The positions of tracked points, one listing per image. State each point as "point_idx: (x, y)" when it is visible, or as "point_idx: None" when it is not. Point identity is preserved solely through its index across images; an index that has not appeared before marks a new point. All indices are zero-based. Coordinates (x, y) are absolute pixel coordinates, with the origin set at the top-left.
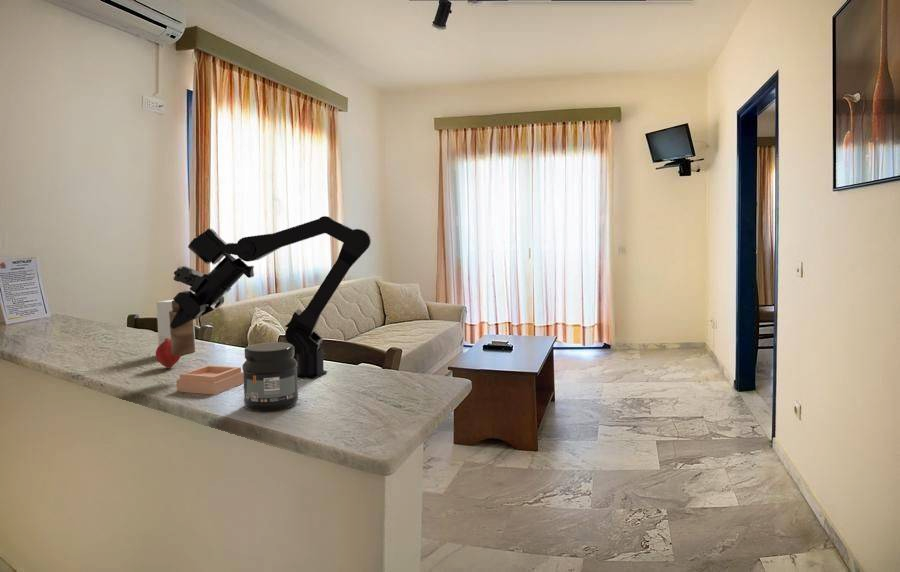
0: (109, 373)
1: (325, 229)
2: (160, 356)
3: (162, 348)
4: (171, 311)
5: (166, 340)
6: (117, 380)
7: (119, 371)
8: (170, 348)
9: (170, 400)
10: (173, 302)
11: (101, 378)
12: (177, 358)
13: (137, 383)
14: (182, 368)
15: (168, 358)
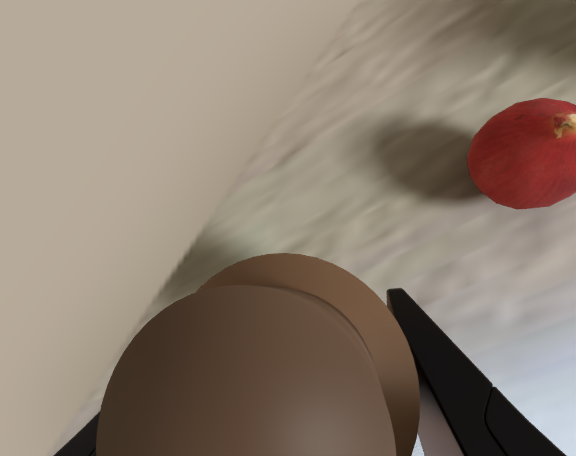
0: (404, 29)
1: None
2: (471, 150)
3: (496, 140)
4: (259, 278)
5: (554, 126)
6: (316, 108)
7: (434, 41)
8: (511, 173)
9: (100, 381)
10: (134, 355)
11: (341, 48)
12: (511, 207)
13: (280, 188)
14: (497, 233)
15: (476, 183)
